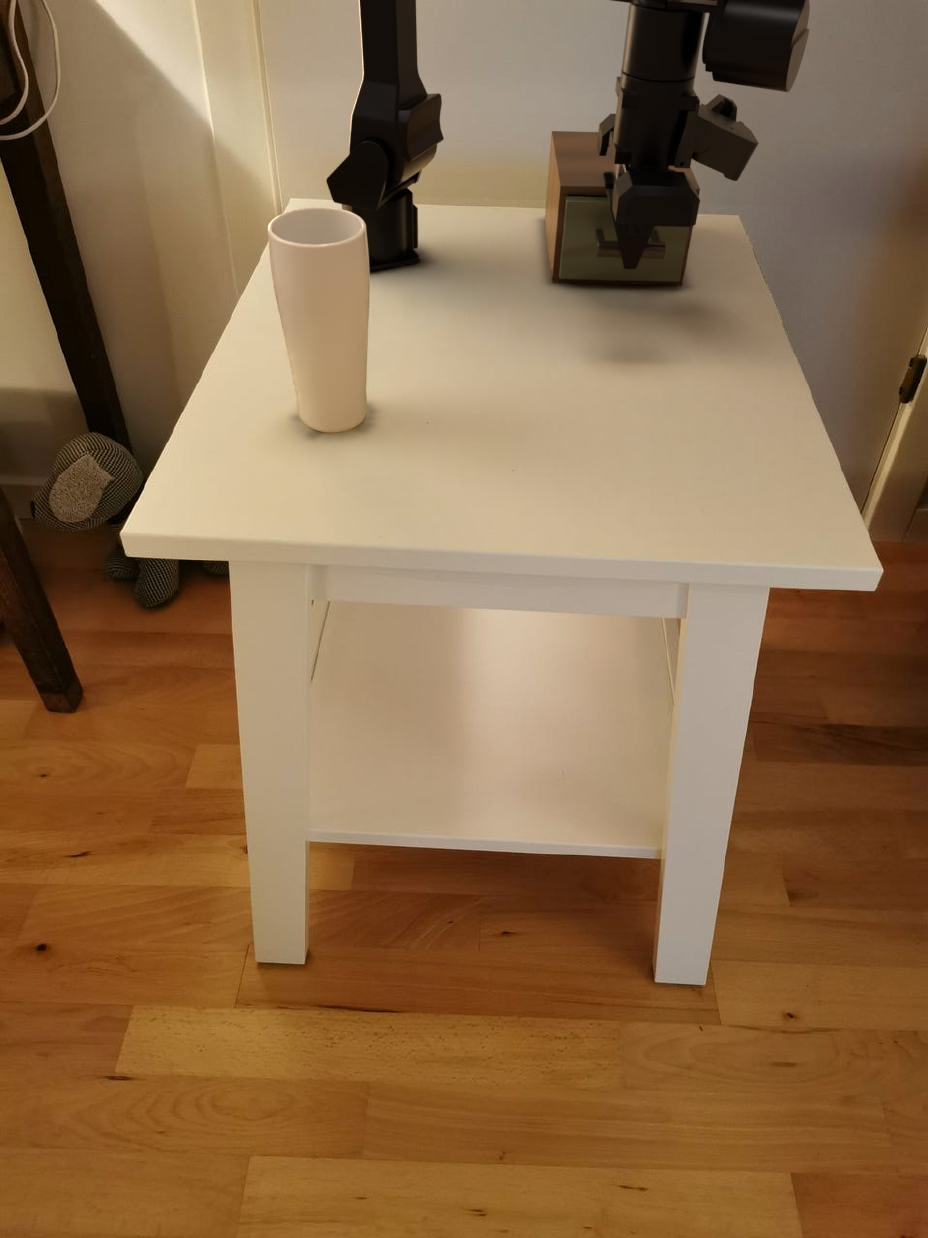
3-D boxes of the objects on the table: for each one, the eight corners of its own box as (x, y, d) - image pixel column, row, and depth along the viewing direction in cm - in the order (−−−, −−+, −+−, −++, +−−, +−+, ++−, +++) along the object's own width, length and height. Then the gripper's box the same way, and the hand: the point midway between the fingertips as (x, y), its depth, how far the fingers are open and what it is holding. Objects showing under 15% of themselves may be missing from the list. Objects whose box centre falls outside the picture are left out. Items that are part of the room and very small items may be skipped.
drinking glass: (363, 446, 73) (351, 251, 63) (277, 434, 74) (251, 240, 64) (386, 399, 78) (378, 210, 67) (305, 389, 79) (285, 201, 68)
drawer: (686, 303, 89) (701, 223, 84) (562, 300, 89) (570, 220, 84) (660, 224, 102) (672, 150, 97) (551, 221, 102) (558, 148, 97)
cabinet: (682, 285, 94) (700, 188, 87) (551, 282, 94) (560, 185, 87) (661, 224, 104) (676, 133, 98) (544, 221, 104) (551, 130, 98)
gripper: (789, 111, 68) (740, 319, 79) (739, 44, 82) (703, 229, 93) (631, 106, 68) (604, 315, 79) (607, 40, 82) (587, 225, 93)
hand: (629, 267), depth 86 cm, fingers closed
